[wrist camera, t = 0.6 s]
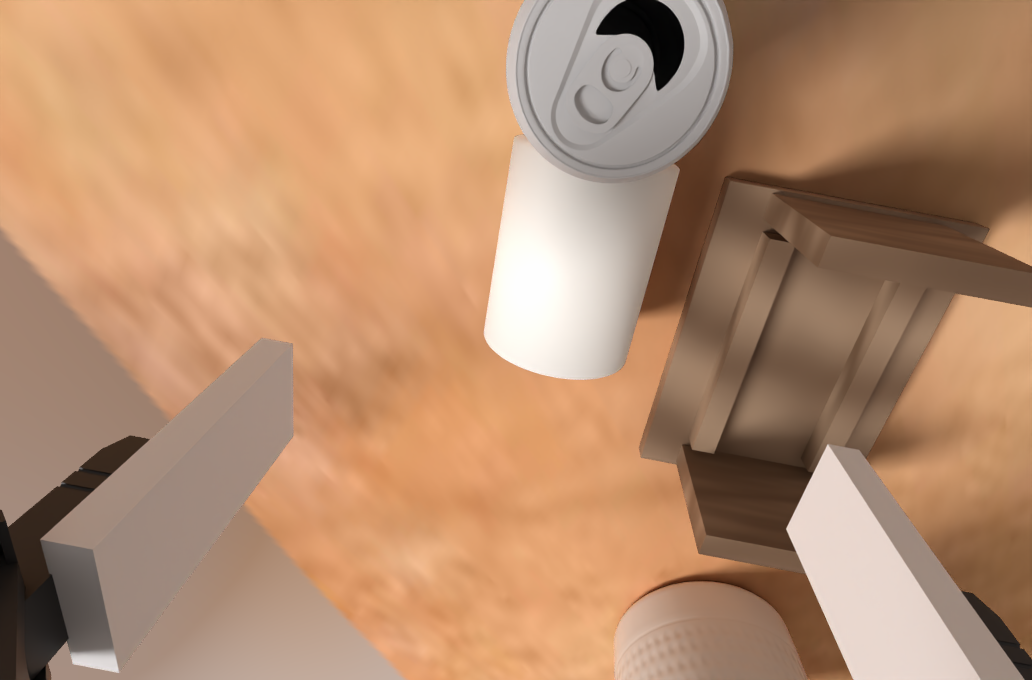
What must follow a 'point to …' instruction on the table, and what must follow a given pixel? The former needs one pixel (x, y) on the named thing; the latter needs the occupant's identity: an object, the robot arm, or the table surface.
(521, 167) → the cylinder
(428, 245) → the table surface
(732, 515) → the holder
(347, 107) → the table surface
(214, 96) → the table surface
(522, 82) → the beverage can
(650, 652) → the lamp
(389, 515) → the table surface
